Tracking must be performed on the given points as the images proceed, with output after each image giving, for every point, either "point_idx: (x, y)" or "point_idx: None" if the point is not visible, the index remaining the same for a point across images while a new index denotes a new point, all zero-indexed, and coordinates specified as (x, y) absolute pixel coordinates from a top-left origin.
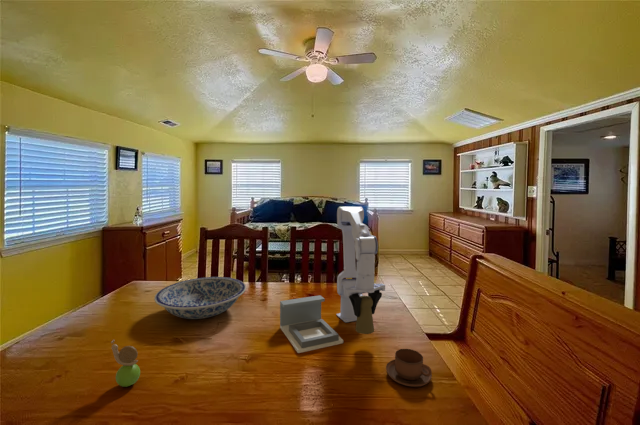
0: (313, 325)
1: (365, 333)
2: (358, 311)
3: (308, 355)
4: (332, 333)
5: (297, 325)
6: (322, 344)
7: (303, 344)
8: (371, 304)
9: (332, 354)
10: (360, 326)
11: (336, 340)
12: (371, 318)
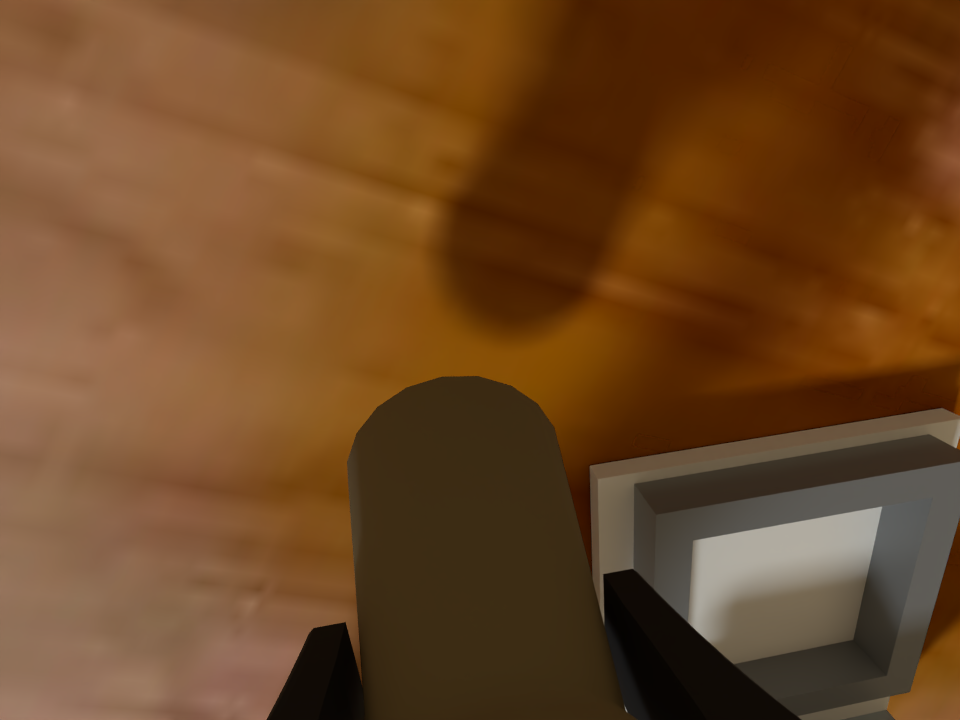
0: None
1: (499, 385)
2: (686, 637)
3: (898, 365)
4: (691, 542)
5: (861, 682)
6: (776, 453)
7: (943, 450)
8: None
9: (744, 335)
10: (557, 465)
11: (655, 482)
12: (407, 524)
